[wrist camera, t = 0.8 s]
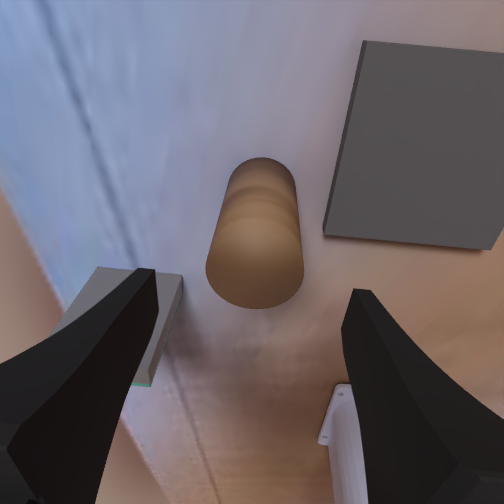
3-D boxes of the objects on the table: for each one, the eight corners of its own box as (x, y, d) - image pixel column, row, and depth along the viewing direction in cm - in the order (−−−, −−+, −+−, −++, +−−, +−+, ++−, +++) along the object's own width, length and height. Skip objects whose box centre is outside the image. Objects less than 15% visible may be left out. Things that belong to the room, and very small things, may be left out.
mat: (482, 241, 22) (490, 250, 21) (322, 226, 22) (324, 234, 21) (578, 60, 16) (594, 62, 16) (362, 40, 16) (367, 41, 16)
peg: (290, 223, 22) (296, 313, 16) (226, 216, 22) (205, 304, 16) (300, 161, 20) (311, 235, 13) (229, 154, 20) (205, 225, 13)
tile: (182, 291, 26) (150, 387, 19) (101, 283, 26) (41, 376, 19) (182, 274, 25) (148, 369, 18) (97, 266, 25) (33, 358, 18)
